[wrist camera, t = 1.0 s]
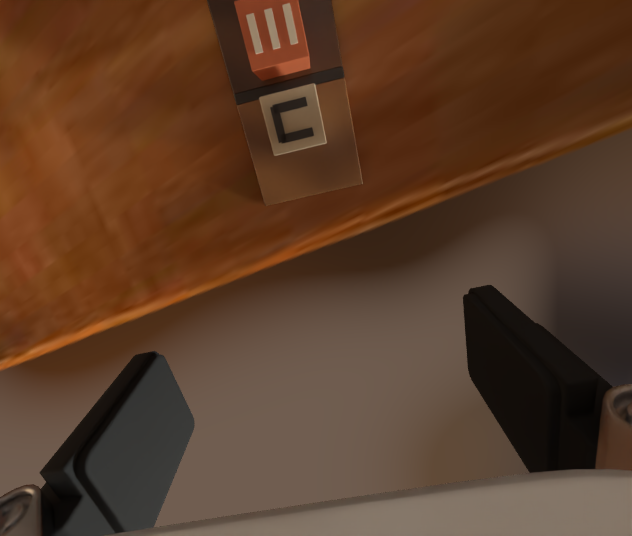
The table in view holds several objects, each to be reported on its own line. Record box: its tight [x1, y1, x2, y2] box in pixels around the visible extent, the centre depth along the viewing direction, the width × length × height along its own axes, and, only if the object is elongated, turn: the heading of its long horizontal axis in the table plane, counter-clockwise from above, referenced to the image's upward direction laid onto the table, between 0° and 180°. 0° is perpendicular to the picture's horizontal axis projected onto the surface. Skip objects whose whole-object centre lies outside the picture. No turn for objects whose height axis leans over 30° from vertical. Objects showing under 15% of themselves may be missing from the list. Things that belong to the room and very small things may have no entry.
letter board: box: [207, 0, 363, 206], centre depth 27 cm, size 20×9×1 cm, turn 13°
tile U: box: [259, 83, 327, 156], centre depth 26 cm, size 4×4×4 cm
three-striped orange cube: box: [234, 0, 310, 81], centre depth 24 cm, size 4×4×4 cm
